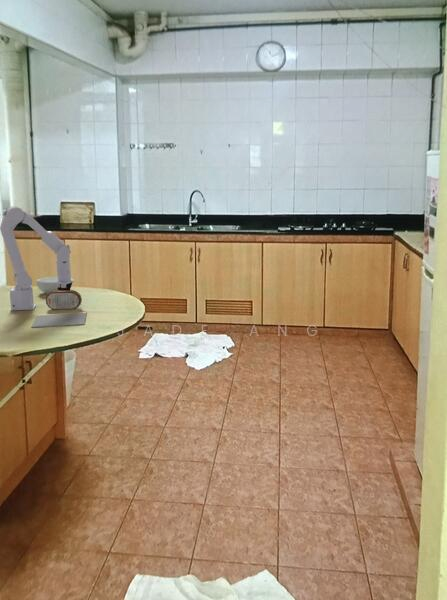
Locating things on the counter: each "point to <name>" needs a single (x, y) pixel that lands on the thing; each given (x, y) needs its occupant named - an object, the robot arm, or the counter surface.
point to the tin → (63, 300)
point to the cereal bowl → (48, 284)
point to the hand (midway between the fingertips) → (66, 300)
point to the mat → (59, 320)
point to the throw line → (64, 313)
